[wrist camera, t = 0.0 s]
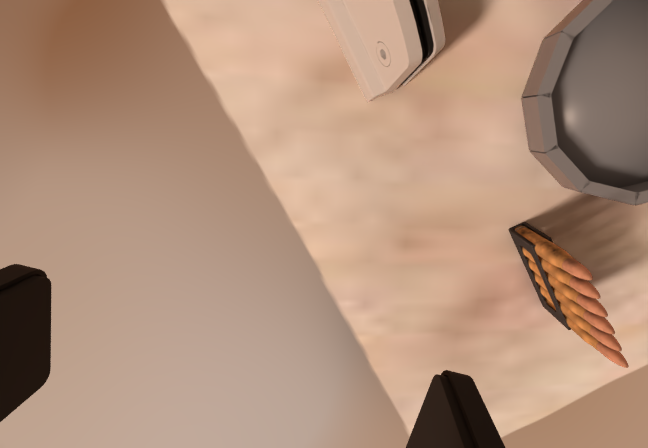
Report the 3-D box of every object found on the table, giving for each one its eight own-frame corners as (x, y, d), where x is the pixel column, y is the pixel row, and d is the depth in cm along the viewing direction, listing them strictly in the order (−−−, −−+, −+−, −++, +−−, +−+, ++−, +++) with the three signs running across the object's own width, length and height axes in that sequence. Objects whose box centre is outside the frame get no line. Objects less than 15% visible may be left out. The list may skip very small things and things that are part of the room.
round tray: (576, -51, 31) (599, -69, 28) (798, 2, 31) (843, -10, 28) (494, 170, 37) (506, 174, 34) (681, 215, 37) (709, 223, 34)
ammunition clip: (559, 300, 40) (642, 371, 29) (543, 307, 41) (619, 379, 29) (524, 221, 38) (600, 263, 27) (508, 228, 39) (575, 273, 27)
